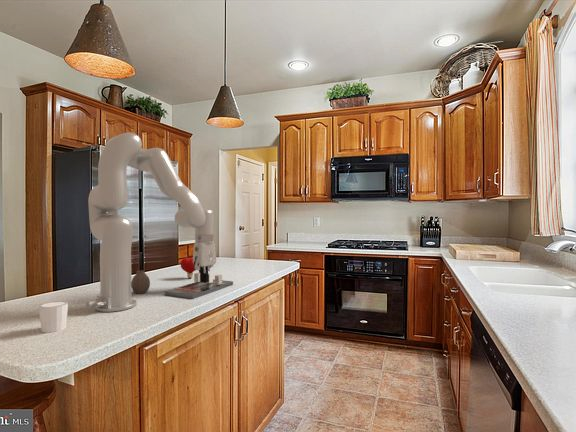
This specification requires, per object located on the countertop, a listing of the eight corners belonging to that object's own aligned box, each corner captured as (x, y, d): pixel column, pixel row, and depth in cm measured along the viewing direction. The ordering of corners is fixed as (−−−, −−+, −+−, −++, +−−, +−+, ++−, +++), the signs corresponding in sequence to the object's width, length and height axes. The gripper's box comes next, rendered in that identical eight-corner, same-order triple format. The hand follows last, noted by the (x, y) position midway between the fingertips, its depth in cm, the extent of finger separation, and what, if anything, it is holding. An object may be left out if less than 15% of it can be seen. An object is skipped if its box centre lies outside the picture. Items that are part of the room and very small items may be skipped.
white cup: (73, 324, 97) (73, 300, 97) (58, 333, 91) (58, 307, 90) (49, 324, 97) (49, 300, 97) (32, 333, 90) (32, 307, 90)
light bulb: (202, 277, 166) (201, 256, 166) (196, 280, 159) (196, 259, 159) (183, 276, 167) (183, 256, 167) (177, 279, 160) (177, 258, 160)
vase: (150, 293, 133) (149, 271, 133) (130, 295, 131) (130, 273, 131) (150, 289, 140) (150, 268, 140) (131, 291, 137) (131, 270, 137)
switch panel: (193, 299, 125) (192, 284, 125) (164, 295, 131) (164, 280, 131) (233, 284, 149) (233, 272, 148) (207, 282, 155) (207, 269, 154)
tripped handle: (209, 283, 143) (209, 274, 143) (205, 282, 144) (205, 274, 144) (212, 282, 145) (212, 273, 145) (209, 281, 146) (209, 273, 146)
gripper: (199, 240, 133) (199, 286, 133) (222, 237, 146) (222, 279, 147) (184, 239, 136) (184, 284, 136) (208, 237, 150) (208, 278, 150)
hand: (204, 282), depth 141 cm, fingers closed
